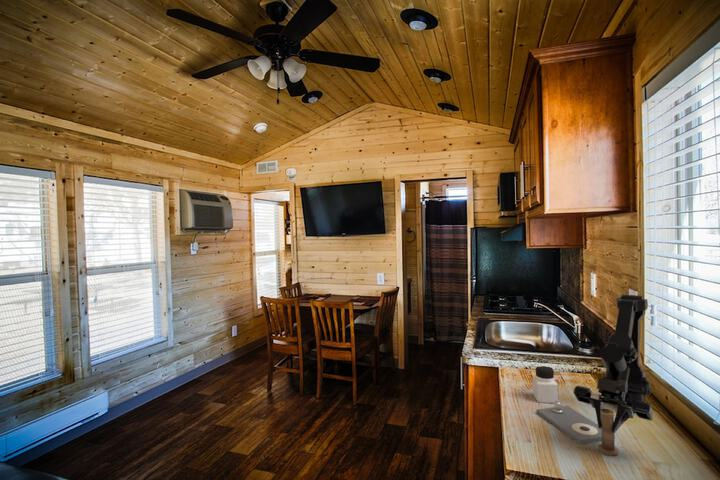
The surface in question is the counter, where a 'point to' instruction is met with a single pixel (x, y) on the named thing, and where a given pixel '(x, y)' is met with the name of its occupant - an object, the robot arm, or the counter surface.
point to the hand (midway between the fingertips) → (606, 430)
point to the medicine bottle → (545, 385)
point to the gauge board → (573, 424)
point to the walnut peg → (607, 433)
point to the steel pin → (557, 407)
